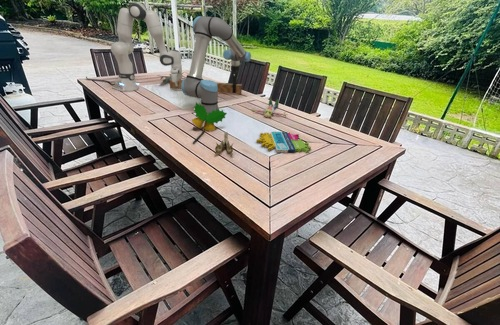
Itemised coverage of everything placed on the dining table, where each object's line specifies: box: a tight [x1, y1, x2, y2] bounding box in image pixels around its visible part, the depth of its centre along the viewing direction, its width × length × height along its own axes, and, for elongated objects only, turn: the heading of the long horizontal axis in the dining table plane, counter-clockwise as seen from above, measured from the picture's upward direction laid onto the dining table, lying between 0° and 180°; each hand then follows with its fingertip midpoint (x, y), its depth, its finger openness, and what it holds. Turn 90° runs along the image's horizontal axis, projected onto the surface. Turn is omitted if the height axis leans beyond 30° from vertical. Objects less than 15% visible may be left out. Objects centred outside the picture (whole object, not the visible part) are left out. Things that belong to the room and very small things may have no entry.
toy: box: [250, 97, 288, 118], centre depth 199 cm, size 28×7×30 cm
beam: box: [169, 79, 243, 95], centre depth 237 cm, size 65×5×7 cm, turn 88°
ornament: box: [191, 102, 228, 132], centre depth 162 cm, size 21×8×15 cm, turn 105°
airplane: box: [156, 73, 186, 87], centre depth 264 cm, size 38×31×10 cm
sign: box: [256, 131, 312, 154], centre depth 152 cm, size 26×2×30 cm
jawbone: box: [214, 131, 234, 156], centre depth 136 cm, size 9×15×10 cm
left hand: (177, 85), depth 238 cm, fingers closed on beam, 5 cm apart
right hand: (234, 92), depth 239 cm, fingers closed on beam, 5 cm apart
